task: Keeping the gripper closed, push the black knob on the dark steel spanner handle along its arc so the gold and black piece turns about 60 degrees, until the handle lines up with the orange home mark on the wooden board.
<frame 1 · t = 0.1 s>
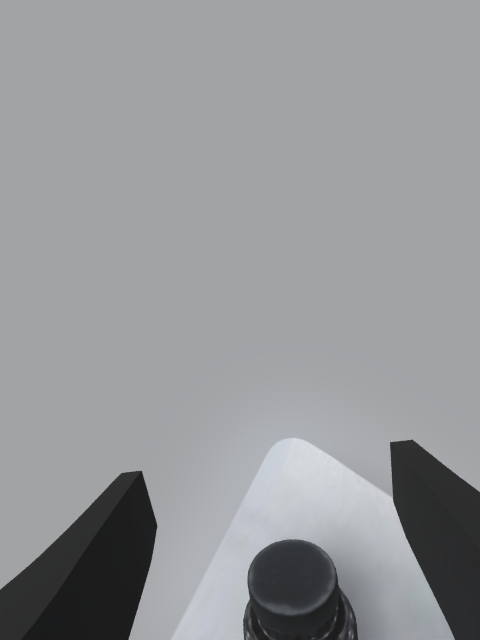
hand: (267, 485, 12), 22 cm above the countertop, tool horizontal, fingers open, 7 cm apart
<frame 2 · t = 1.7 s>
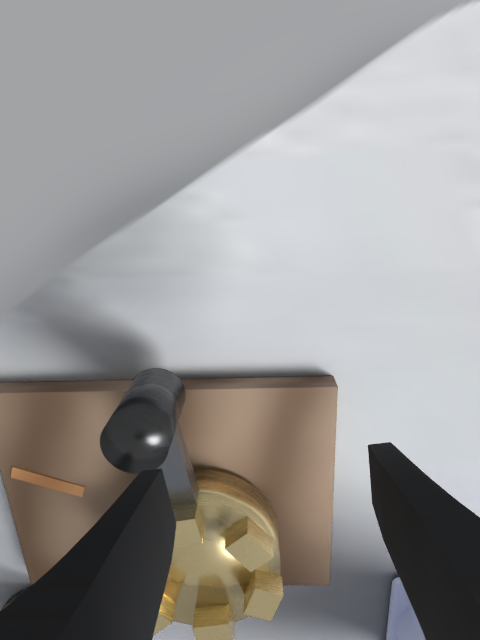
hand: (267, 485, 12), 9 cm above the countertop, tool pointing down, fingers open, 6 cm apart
wooden board: (171, 481, 23), on the countertop
gold and black piece: (184, 518, 19), point 4 cm above the countertop, hinge at 0.0°
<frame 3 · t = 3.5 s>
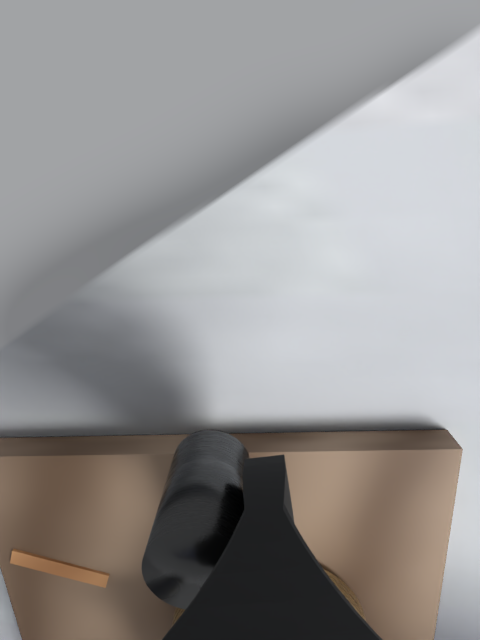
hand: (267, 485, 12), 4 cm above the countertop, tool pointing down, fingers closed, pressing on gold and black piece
wooden board: (220, 561, 18), on the countertop
gold and black piece: (251, 636, 14), point 4 cm above the countertop, hinge at 1.2°, touching gripper
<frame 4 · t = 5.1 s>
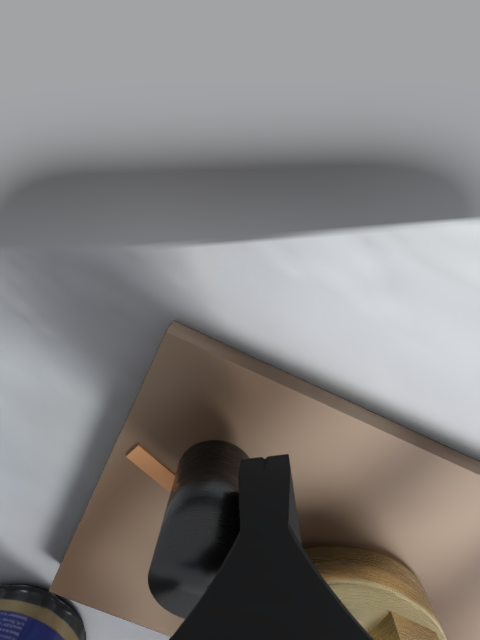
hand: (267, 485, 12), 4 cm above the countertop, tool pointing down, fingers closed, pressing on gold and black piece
wooden board: (307, 539, 17), on the countertop
gold and black piece: (302, 632, 13), point 4 cm above the countertop, hinge at 46.4°, touching gripper
pill bottle: (29, 621, 20), on the countertop
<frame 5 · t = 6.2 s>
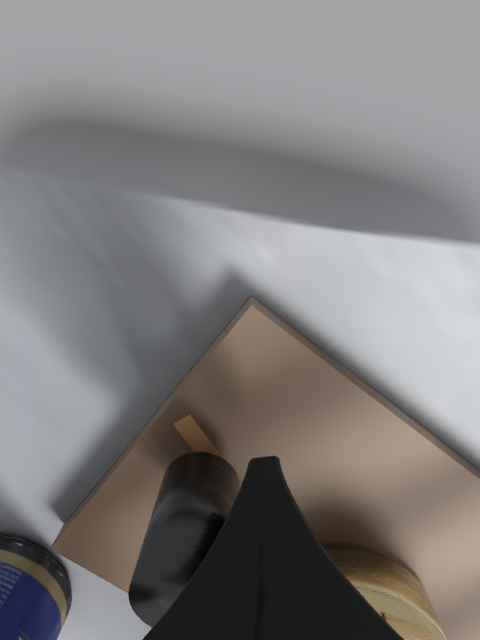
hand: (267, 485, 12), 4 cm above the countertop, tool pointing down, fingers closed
wooden board: (322, 539, 17), on the countertop
gold and black piece: (297, 638, 13), point 4 cm above the countertop, hinge at 62.4°, touching gripper
pill bottle: (12, 576, 19), on the countertop
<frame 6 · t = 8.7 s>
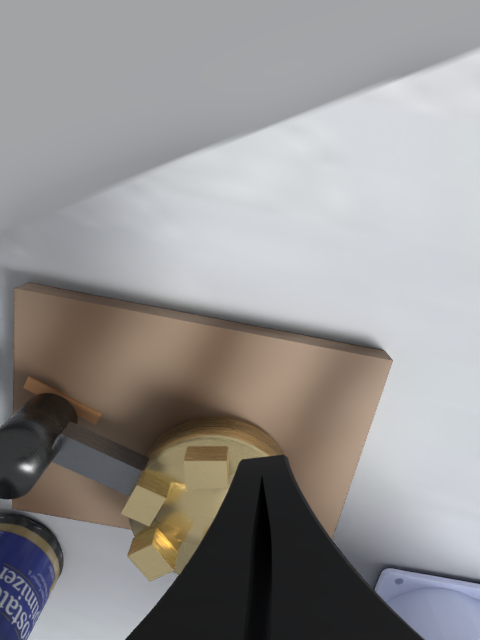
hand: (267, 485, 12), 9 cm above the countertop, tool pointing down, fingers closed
wooden board: (189, 427, 22), on the countertop
gold and black piece: (152, 490, 19), point 4 cm above the countertop, hinge at 62.5°
pill bottle: (19, 546, 25), on the countertop
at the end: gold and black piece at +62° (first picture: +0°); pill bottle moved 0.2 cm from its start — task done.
